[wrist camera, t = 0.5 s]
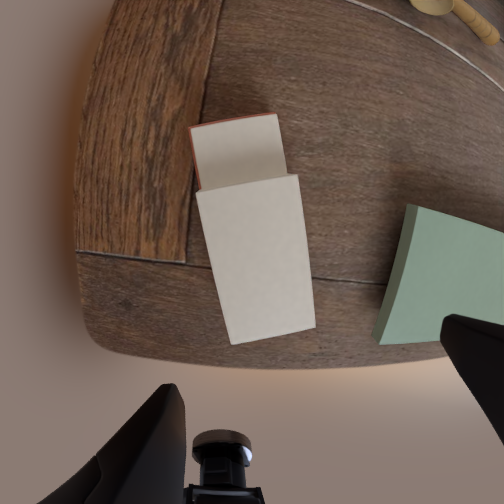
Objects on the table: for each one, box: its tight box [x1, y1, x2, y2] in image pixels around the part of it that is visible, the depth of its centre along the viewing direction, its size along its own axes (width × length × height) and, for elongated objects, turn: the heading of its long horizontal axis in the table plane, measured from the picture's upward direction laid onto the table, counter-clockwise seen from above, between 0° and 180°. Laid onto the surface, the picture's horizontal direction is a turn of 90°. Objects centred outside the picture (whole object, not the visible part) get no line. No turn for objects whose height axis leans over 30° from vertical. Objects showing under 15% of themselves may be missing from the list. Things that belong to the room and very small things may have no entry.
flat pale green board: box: [372, 203, 504, 345], centre depth 22 cm, size 36×11×3 cm, turn 82°
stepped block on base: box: [188, 112, 316, 345], centre depth 17 cm, size 14×6×5 cm, turn 10°
